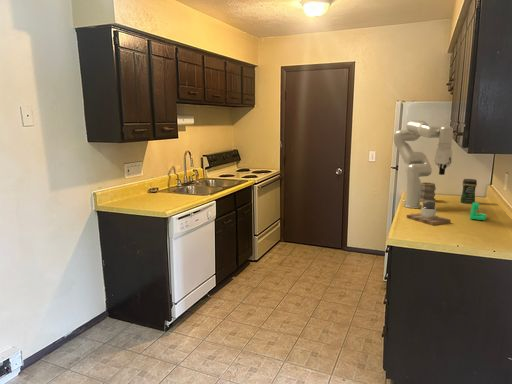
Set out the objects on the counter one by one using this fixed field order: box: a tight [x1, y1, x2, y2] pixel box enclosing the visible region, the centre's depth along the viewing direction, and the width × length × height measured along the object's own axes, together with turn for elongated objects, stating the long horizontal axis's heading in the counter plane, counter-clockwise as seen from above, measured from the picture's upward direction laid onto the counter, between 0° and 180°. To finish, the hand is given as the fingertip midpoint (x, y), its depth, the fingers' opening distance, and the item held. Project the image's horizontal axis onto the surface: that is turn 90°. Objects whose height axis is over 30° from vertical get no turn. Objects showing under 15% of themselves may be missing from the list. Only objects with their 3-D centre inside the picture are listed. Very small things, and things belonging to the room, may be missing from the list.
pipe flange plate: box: [406, 206, 452, 226], centre depth 229 cm, size 20×15×8 cm
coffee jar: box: [460, 178, 478, 205], centre depth 281 cm, size 10×8×19 cm
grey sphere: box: [422, 200, 436, 209], centre depth 228 cm, size 7×7×7 cm
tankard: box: [420, 182, 437, 202], centre depth 291 cm, size 20×13×15 cm, turn 68°
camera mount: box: [469, 202, 488, 221], centre depth 233 cm, size 12×8×10 cm, turn 141°
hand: (441, 174), depth 239 cm, fingers closed
